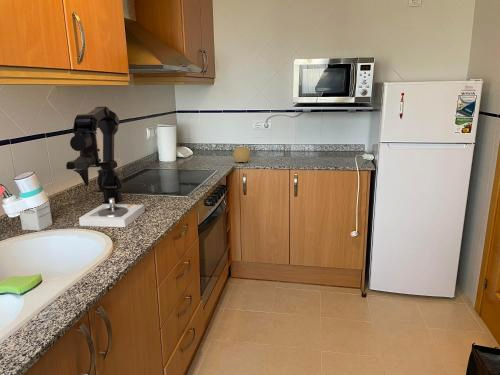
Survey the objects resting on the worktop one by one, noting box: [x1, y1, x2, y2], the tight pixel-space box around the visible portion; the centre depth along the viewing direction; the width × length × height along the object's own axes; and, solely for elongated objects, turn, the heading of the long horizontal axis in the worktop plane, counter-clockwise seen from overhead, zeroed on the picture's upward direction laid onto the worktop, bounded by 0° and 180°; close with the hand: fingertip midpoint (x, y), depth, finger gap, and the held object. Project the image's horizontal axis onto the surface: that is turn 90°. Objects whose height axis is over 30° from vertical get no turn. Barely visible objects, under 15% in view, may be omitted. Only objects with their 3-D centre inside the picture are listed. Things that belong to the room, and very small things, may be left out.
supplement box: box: [19, 192, 53, 232], centre depth 139 cm, size 7×7×13 cm
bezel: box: [78, 203, 146, 228], centre depth 149 cm, size 18×18×3 cm
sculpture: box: [233, 146, 251, 163], centre depth 257 cm, size 12×12×11 cm
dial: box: [98, 198, 128, 217], centre depth 148 cm, size 11×11×6 cm
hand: (94, 186), depth 151 cm, fingers open, 6 cm apart
